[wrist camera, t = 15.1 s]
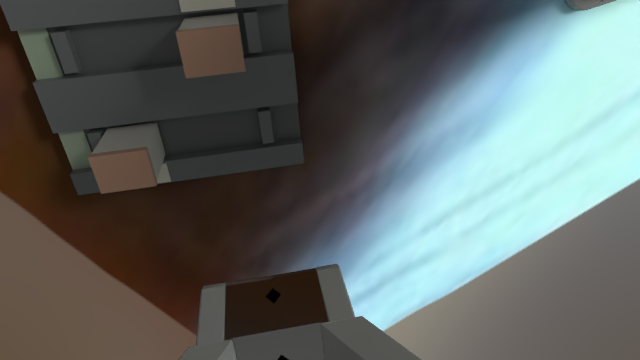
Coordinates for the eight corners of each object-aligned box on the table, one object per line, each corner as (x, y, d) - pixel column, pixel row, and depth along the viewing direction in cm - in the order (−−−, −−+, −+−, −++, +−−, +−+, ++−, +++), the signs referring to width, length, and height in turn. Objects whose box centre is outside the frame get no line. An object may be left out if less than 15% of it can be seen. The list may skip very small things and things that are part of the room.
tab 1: (157, 121, 37) (145, 150, 33) (166, 154, 39) (156, 186, 34) (106, 127, 37) (87, 157, 32) (117, 160, 38) (101, 193, 34)
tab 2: (237, 11, 34) (238, 25, 29) (244, 52, 36) (245, 71, 31) (183, 17, 34) (175, 32, 29) (192, 58, 35) (186, 78, 31)
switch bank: (282, -30, 35) (285, -27, 33) (301, 151, 43) (304, 164, 41) (13, -5, 33) (-3, 0, 30) (86, 181, 41) (77, 196, 39)
